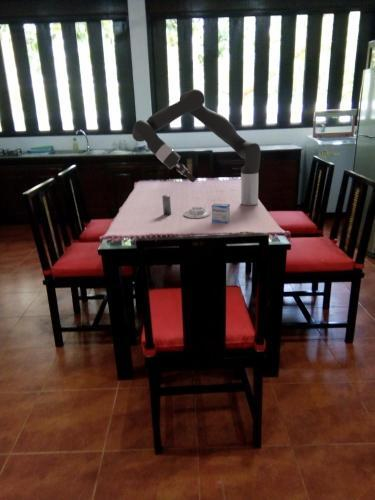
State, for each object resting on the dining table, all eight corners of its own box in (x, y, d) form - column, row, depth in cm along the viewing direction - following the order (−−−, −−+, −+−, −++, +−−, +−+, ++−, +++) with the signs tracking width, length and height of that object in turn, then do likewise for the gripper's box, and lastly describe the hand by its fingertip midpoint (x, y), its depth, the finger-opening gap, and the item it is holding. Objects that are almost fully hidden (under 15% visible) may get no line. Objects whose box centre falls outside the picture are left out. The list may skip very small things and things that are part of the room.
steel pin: (164, 213, 210) (163, 195, 206) (171, 213, 209) (170, 194, 206) (163, 215, 206) (161, 196, 203) (170, 215, 206) (169, 196, 202)
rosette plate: (185, 211, 212) (185, 205, 211) (211, 210, 210) (211, 204, 209) (182, 218, 199) (181, 212, 198) (209, 218, 197) (209, 211, 196)
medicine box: (211, 222, 190) (211, 205, 187) (214, 220, 194) (214, 202, 191) (227, 223, 187) (227, 206, 184) (230, 221, 191) (229, 203, 188)
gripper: (172, 148, 171) (199, 174, 172) (174, 151, 185) (200, 175, 186) (160, 161, 172) (187, 186, 173) (164, 163, 186) (189, 187, 187)
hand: (194, 180), depth 179 cm, fingers open, 8 cm apart
